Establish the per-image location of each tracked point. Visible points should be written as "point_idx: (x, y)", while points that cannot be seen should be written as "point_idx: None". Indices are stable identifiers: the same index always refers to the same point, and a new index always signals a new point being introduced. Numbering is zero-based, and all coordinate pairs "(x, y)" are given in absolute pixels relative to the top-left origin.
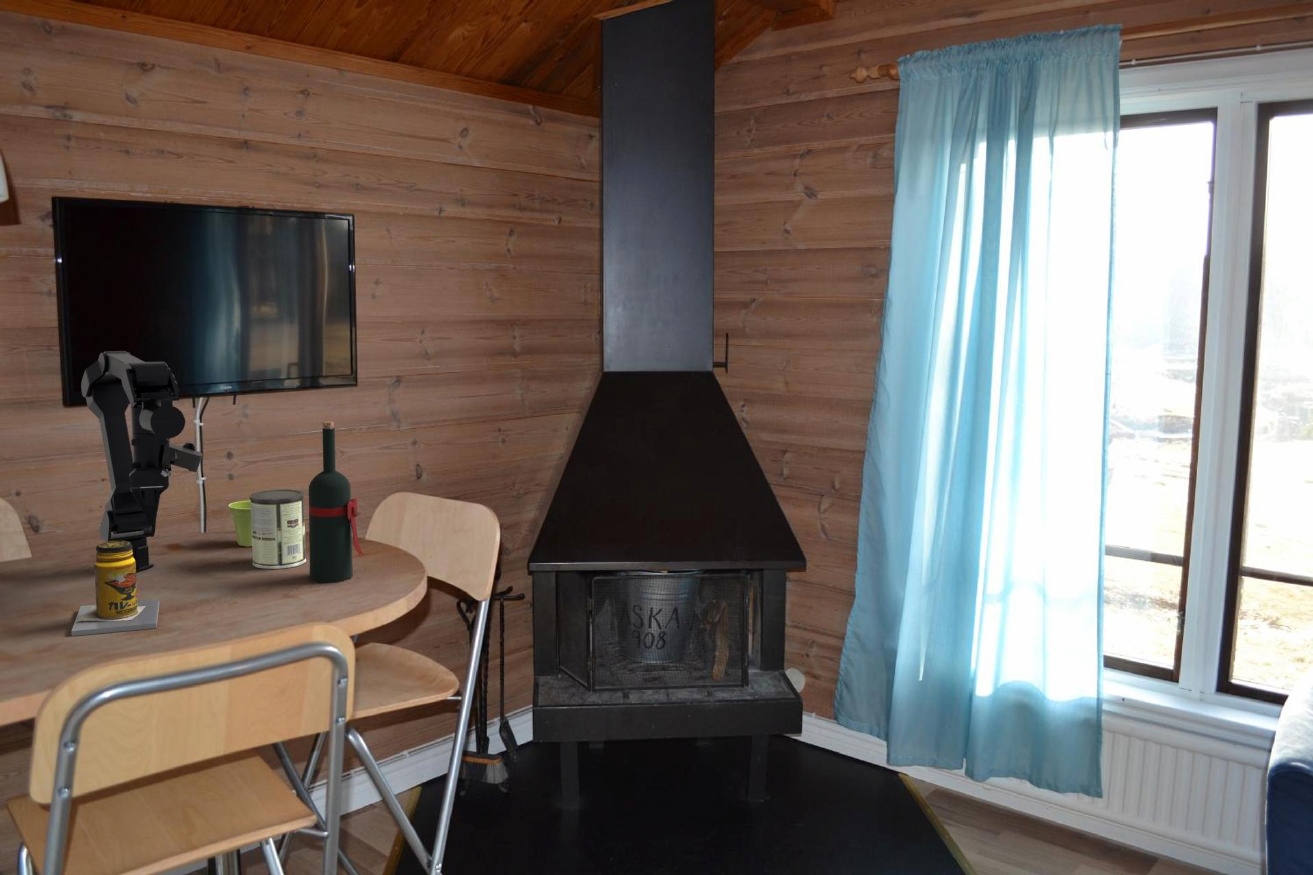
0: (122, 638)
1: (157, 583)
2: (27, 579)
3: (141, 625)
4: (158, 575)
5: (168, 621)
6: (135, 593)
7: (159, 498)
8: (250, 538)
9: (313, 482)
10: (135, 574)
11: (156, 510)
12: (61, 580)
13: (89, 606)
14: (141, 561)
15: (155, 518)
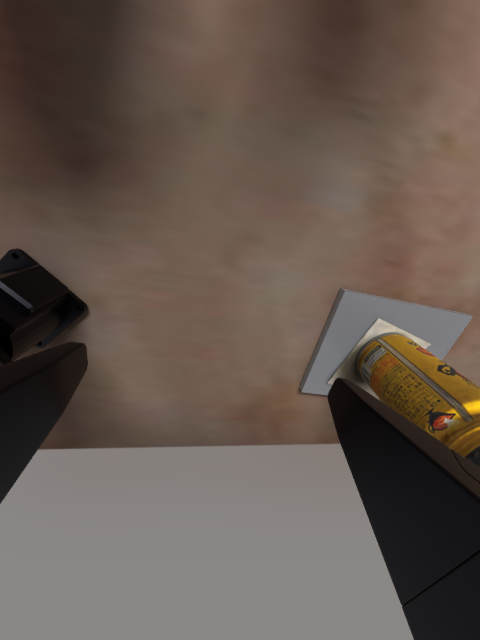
0: (466, 355)
1: (187, 267)
2: (77, 434)
3: (459, 334)
4: (113, 253)
5: (449, 291)
6: (433, 355)
7: (13, 387)
8: None
9: None
10: (465, 378)
11: (411, 425)
12: (99, 400)
13: (312, 383)
14: (51, 288)
15: (362, 391)
